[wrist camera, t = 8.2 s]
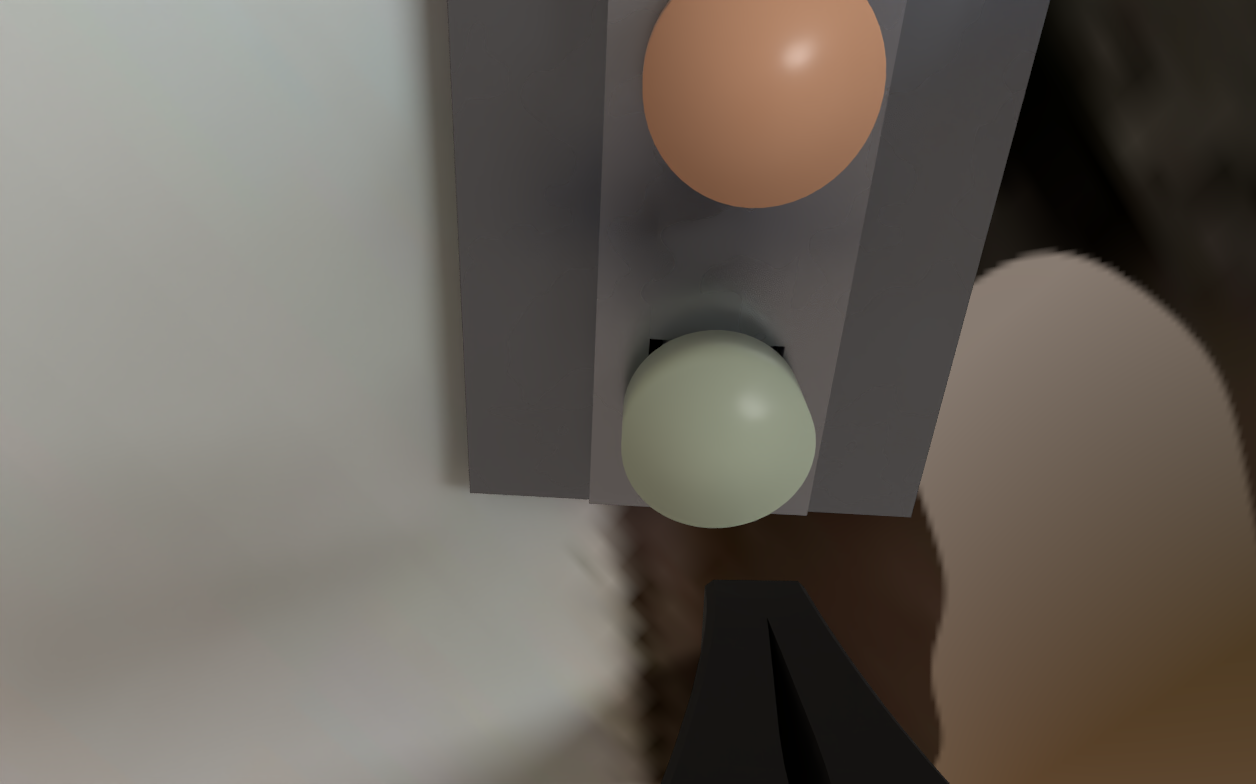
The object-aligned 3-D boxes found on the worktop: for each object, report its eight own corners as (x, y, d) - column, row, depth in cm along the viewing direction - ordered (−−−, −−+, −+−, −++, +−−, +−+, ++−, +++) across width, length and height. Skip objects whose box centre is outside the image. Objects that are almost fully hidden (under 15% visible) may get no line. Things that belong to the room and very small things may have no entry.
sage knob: (794, 293, 19) (831, 367, 15) (771, 435, 21) (799, 532, 17) (630, 283, 19) (626, 355, 15) (621, 427, 21) (616, 522, 17)
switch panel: (1202, -680, 12) (1335, -841, 10) (899, 496, 22) (930, 554, 20) (428, -732, 12) (376, -906, 10) (477, 472, 22) (457, 528, 20)
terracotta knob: (846, -35, 16) (910, -44, 12) (814, 167, 18) (861, 214, 14) (648, -47, 16) (650, -59, 12) (637, 157, 17) (635, 201, 14)
